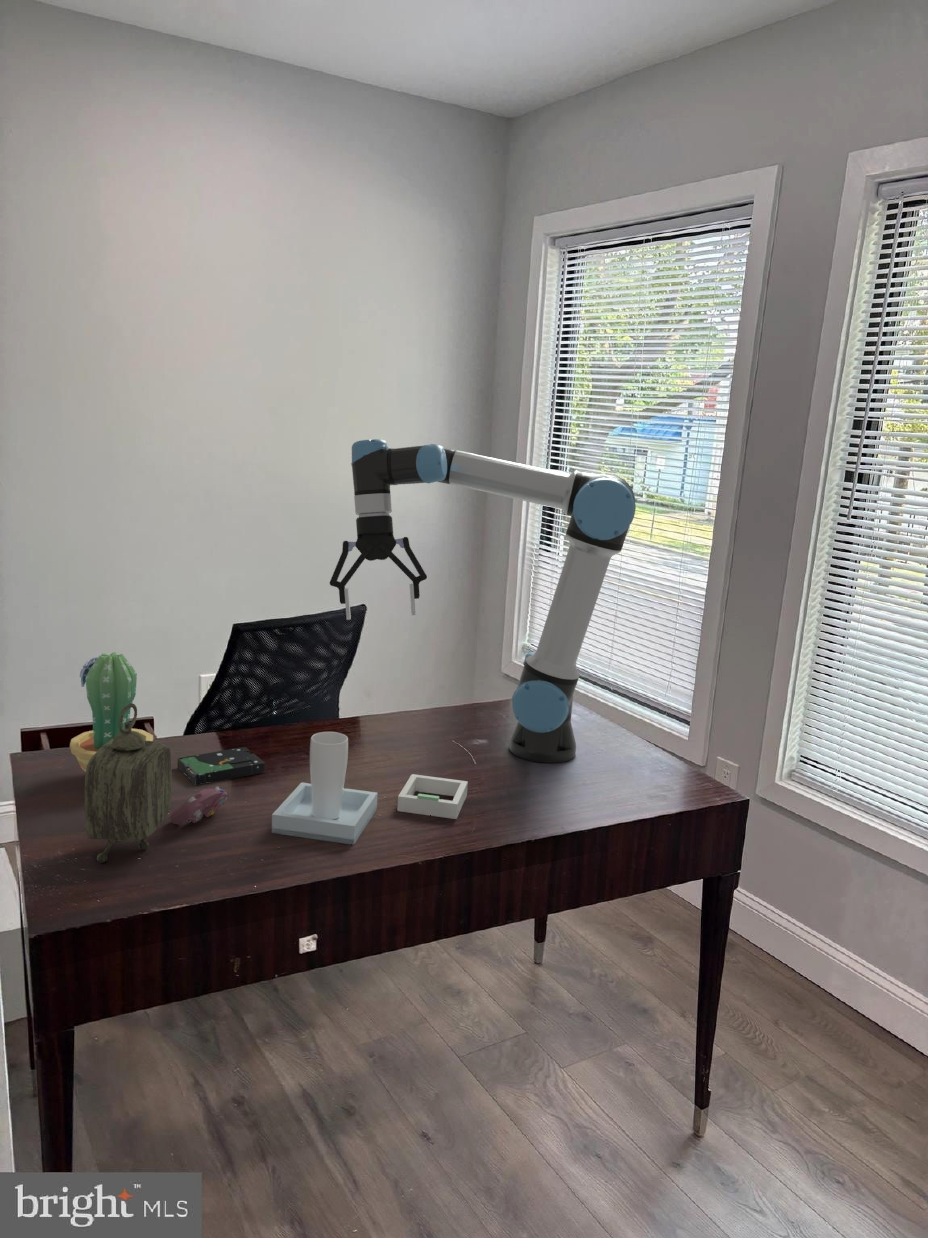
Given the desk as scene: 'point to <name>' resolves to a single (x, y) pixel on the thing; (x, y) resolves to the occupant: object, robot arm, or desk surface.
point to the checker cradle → (429, 802)
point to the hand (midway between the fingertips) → (381, 617)
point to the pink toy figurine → (200, 806)
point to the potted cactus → (105, 703)
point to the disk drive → (221, 765)
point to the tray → (344, 829)
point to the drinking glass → (328, 773)
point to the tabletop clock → (127, 788)
